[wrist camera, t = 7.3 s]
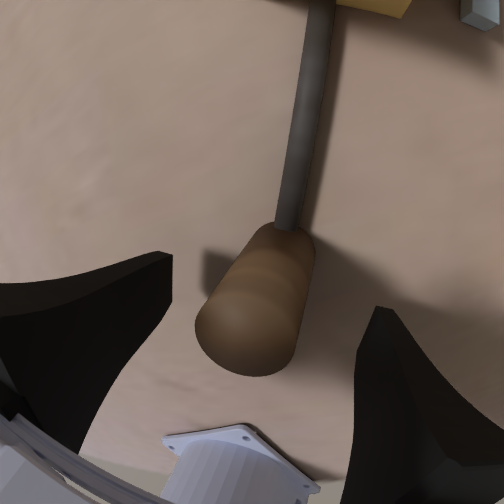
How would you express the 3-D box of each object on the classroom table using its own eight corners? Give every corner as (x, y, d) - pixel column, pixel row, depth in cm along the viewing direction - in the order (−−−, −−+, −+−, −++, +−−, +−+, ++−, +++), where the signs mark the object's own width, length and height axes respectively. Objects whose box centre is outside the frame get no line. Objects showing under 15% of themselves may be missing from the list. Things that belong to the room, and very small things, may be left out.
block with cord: (268, -99, 6) (226, -174, 1) (404, -82, 5) (423, -159, 1) (214, 265, 13) (149, 344, 8) (340, 296, 12) (332, 397, 7)
